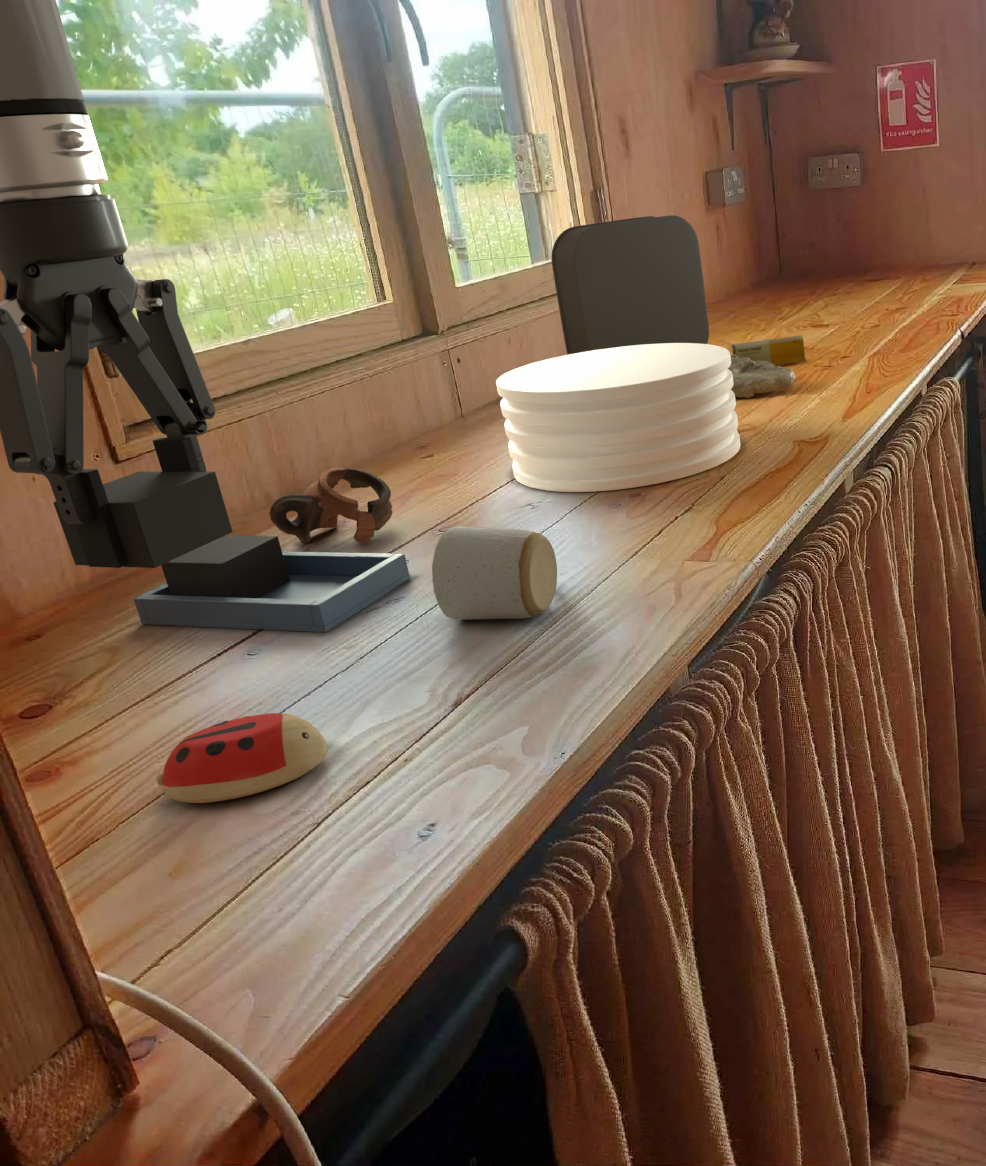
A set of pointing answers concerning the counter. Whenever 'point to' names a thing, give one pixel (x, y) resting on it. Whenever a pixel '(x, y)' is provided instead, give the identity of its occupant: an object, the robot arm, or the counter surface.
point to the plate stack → (620, 416)
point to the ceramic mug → (493, 573)
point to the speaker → (630, 284)
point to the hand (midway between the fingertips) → (155, 544)
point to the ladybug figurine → (241, 758)
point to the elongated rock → (758, 377)
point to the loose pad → (160, 516)
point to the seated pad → (229, 568)
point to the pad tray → (288, 595)
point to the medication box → (772, 350)
